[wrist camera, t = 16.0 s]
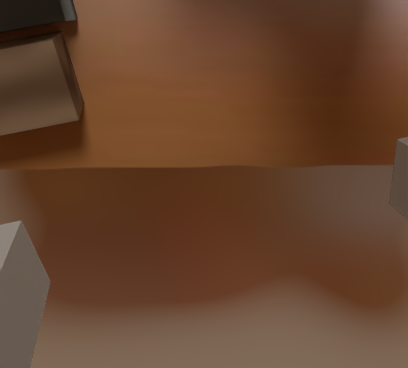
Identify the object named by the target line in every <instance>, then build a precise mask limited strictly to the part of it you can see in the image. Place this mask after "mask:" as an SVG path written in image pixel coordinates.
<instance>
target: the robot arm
mask: <svg viewBox="0 0 408 368" xmlns="http://www.w3.org/2000/svg"><path fill="white" fill-rule="evenodd" d="M389 204H390V205H392V206H393V207H394V208H395V209H396V210H397V211H398V212H399V213H400V214H402V215H403V216H404V217H405V218H406V219H407V220H408V137H405V138H400V139H397V144H396V152H395V161H394V169H393V177H392V185H391V193H390V201H389ZM49 286H50V280H49V278H48V275H47V273H46V271H45V269H44V267H43V265H42V263H41V261H40V259H39V257H38V254H37V252H36V251H35V248H34V246H33V244H32V242H31V240H30V238H29V236H28V234H27V231H26V229H25V227H24V225H23V223H22V221H17V222H12V223H7V224H3V225H0V368H30V365H31V361H32V357H33V353H34V348H35V344H36V340H37V336H38V332H39V328H40V323H41V319H42V314H43V311H44V306H45V302H46V298H47V293H48V290H49Z"/></svg>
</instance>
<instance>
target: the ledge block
mask: <svg viewBox="0 0 408 368" xmlns="http://www.w3.org/2000/svg"><path fill="white" fill-rule="evenodd" d="M83 105H84V101H83V98H82V94H81V91H80V88H79V85H78V82H77V78H76V75H75V72H74V69H73V66H72V62H71V59H70V56H69V53H68V50H67V47H66V43H65V40H64V37H63V34H62V31H60V32H54V33H48V34H43V35H37V36H32V37H26V38H20V39H15V40H9V41H3V42H0V136H1V135H6V134H12V133H17V132H22V131H27V130H32V129H37V128H42V127H47V126H52V125H57V124H62V123H67V122H72V121H77V120H79V118H80V115H81V112H82V108H83Z"/></svg>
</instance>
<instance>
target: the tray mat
mask: <svg viewBox="0 0 408 368" xmlns="http://www.w3.org/2000/svg"><path fill="white" fill-rule="evenodd" d="M76 19H77V14H76V11H75V7H74V4H73V0H0V32H3V31H8V30H14V29H20V28H25V27H31V26H37V25H43V24H48V23H54V22H60V21H65V20H66V21H72V20H76Z"/></svg>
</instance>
